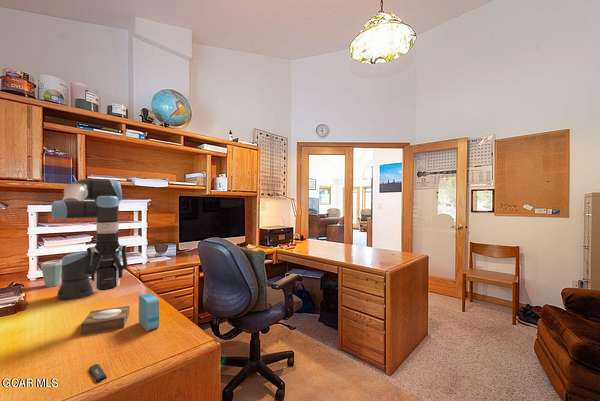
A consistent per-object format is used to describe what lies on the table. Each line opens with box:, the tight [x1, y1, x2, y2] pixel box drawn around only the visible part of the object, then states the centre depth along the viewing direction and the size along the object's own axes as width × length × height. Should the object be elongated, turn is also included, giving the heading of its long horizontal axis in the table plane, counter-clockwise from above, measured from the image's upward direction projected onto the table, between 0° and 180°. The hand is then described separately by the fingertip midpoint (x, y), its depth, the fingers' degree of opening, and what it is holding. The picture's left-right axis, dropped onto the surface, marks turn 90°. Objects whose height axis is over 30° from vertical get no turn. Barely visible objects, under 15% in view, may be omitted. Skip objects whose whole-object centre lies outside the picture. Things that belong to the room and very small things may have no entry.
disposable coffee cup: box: [40, 259, 62, 288], centre depth 162 cm, size 11×11×15 cm
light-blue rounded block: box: [138, 292, 160, 332], centre depth 109 cm, size 12×4×12 cm, turn 45°
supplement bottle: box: [96, 259, 117, 291], centre depth 110 cm, size 7×7×12 cm
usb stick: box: [88, 363, 108, 383], centre depth 78 cm, size 10×3×2 cm, turn 50°
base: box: [80, 305, 130, 336], centre depth 110 cm, size 14×14×4 cm
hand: (107, 286), depth 110 cm, fingers closed on supplement bottle, 7 cm apart
